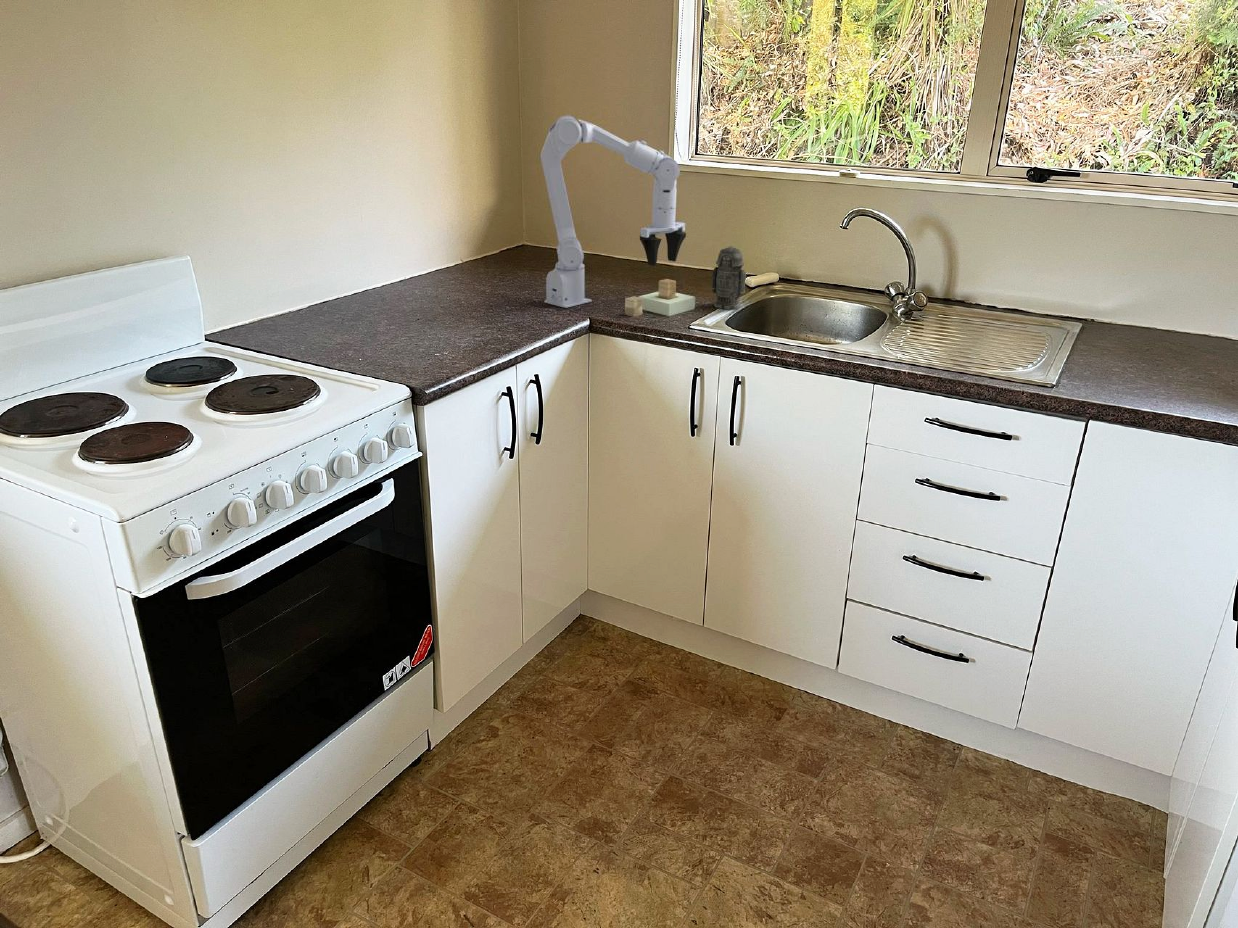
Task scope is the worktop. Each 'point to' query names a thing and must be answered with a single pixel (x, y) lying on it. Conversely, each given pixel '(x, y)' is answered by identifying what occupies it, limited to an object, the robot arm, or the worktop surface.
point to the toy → (729, 279)
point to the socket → (668, 304)
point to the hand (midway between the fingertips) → (662, 262)
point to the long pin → (667, 289)
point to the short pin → (633, 306)
